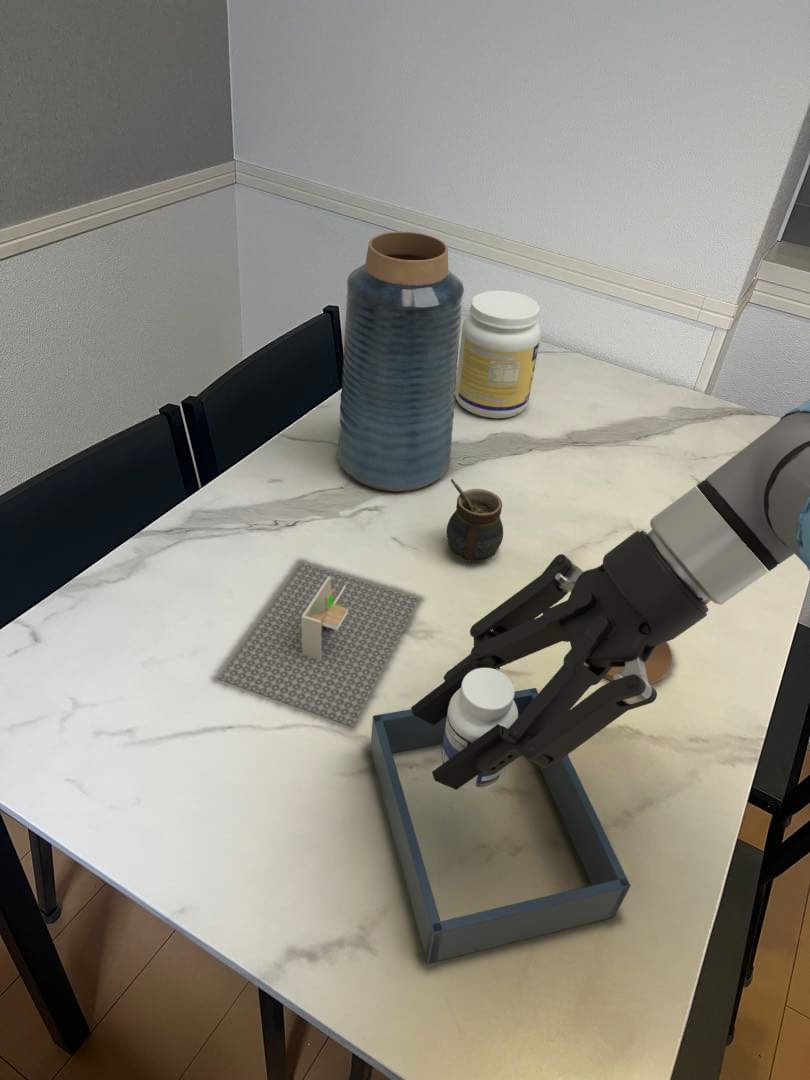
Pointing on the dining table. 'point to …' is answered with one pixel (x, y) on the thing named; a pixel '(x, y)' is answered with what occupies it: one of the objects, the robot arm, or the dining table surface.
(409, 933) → the dining table surface
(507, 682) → the pill bottle
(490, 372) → the supplement tub
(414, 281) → the vase
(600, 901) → the blue bottomless tray frame
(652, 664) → the coaster
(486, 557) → the mate gourd
